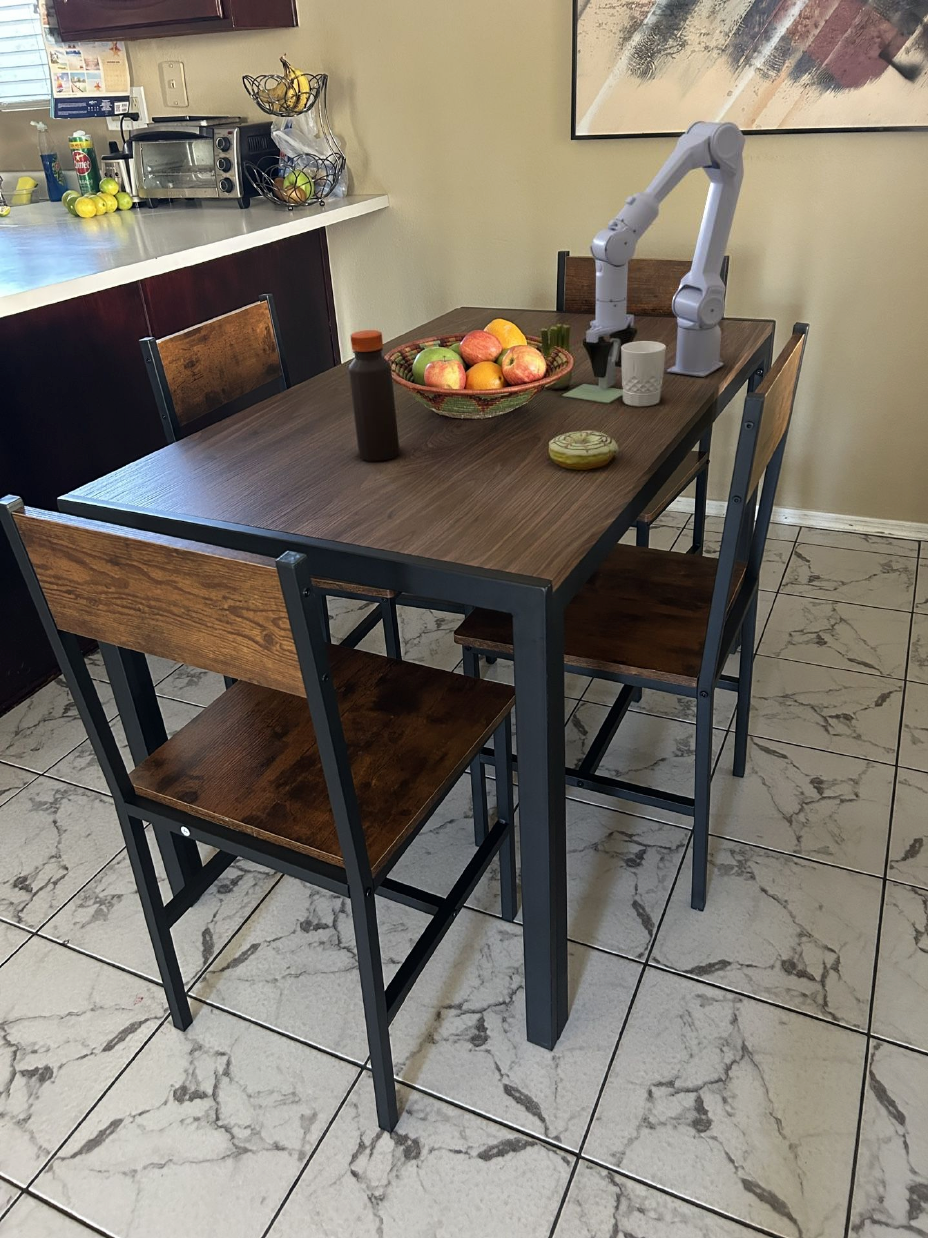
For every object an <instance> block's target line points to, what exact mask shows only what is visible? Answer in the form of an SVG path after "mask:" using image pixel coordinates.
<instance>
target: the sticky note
mask: <svg viewBox="0 0 928 1238" xmlns="http://www.w3.org/2000/svg"><path fill="white" fill-rule="evenodd" d="M561 396H562V397H566V398H572V399H579V400H587V401H590V402H591V401H592V402H598V403H603V404H604V403H605V404H610V403H612V402H613V401H616V400H617V399H619V398H620V397H623V388H622V389H621V388H615V387H609V388H607V389H604V388H599V385H595V384H588V383H583V384H581V385H579V386H577V387H575V388H573V389H571V390H569V391H567V392H565V393H563V394H562V395H561Z"/></svg>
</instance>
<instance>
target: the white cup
mask: <svg viewBox="0 0 928 1238" xmlns="http://www.w3.org/2000/svg"><path fill="white" fill-rule="evenodd" d="M666 351H667V346H666V345H665V344H664V343H663V342H658V341H651V340H649V341H648V340H640V341H639V340H638V341H632V342H631V343H627V344H624V345H622V347H621V364H622V367H621V386H622V390H623V395H622V402H623V403H624V404H626V405H628V406H631V407H650V406H654V405H657V404H659V403H660V401H661V394H662V386H663V378H664V372H665V361H666Z"/></svg>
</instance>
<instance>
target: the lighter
mask: <svg viewBox="0 0 928 1238" xmlns="http://www.w3.org/2000/svg"><path fill="white" fill-rule="evenodd" d="M609 342H613V345H612V347H611V350H610V353H609V357H608V363H607V372H606V376H605V377H604V378H600V377H598V386H599V388H604V389H607V388H611V387H612V386H613V385H615V383H616V367H615V362H618V358H619V352H620V347H621V340H620V339H614V338H612V339H611V340H610V341H609Z"/></svg>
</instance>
